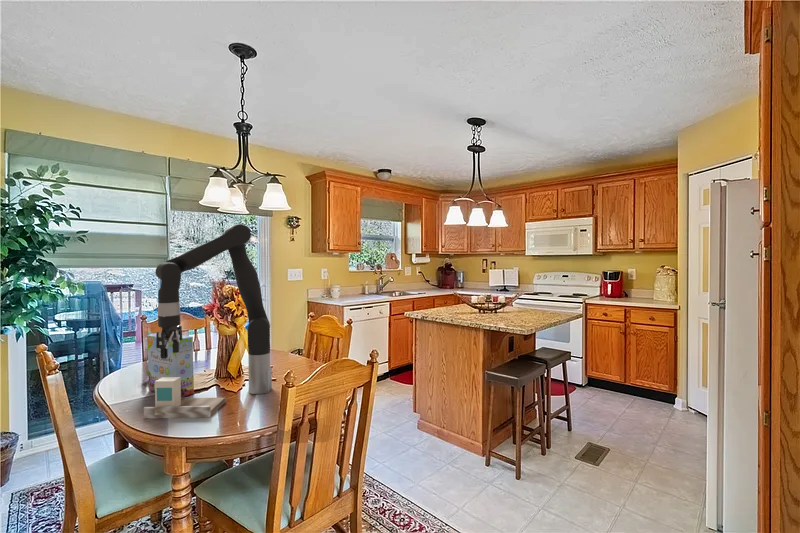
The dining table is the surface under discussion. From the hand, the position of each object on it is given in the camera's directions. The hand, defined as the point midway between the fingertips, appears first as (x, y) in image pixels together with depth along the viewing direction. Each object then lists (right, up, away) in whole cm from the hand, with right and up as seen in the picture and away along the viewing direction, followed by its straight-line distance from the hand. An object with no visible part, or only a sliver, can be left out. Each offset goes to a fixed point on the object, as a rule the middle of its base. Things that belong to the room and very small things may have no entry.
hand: (170, 355), depth 151 cm
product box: (0, -20, -1) cm, 20 cm away
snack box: (-13, -22, +21) cm, 33 cm away
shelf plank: (+5, -22, +2) cm, 23 cm away
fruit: (-29, -21, +41) cm, 54 cm away
